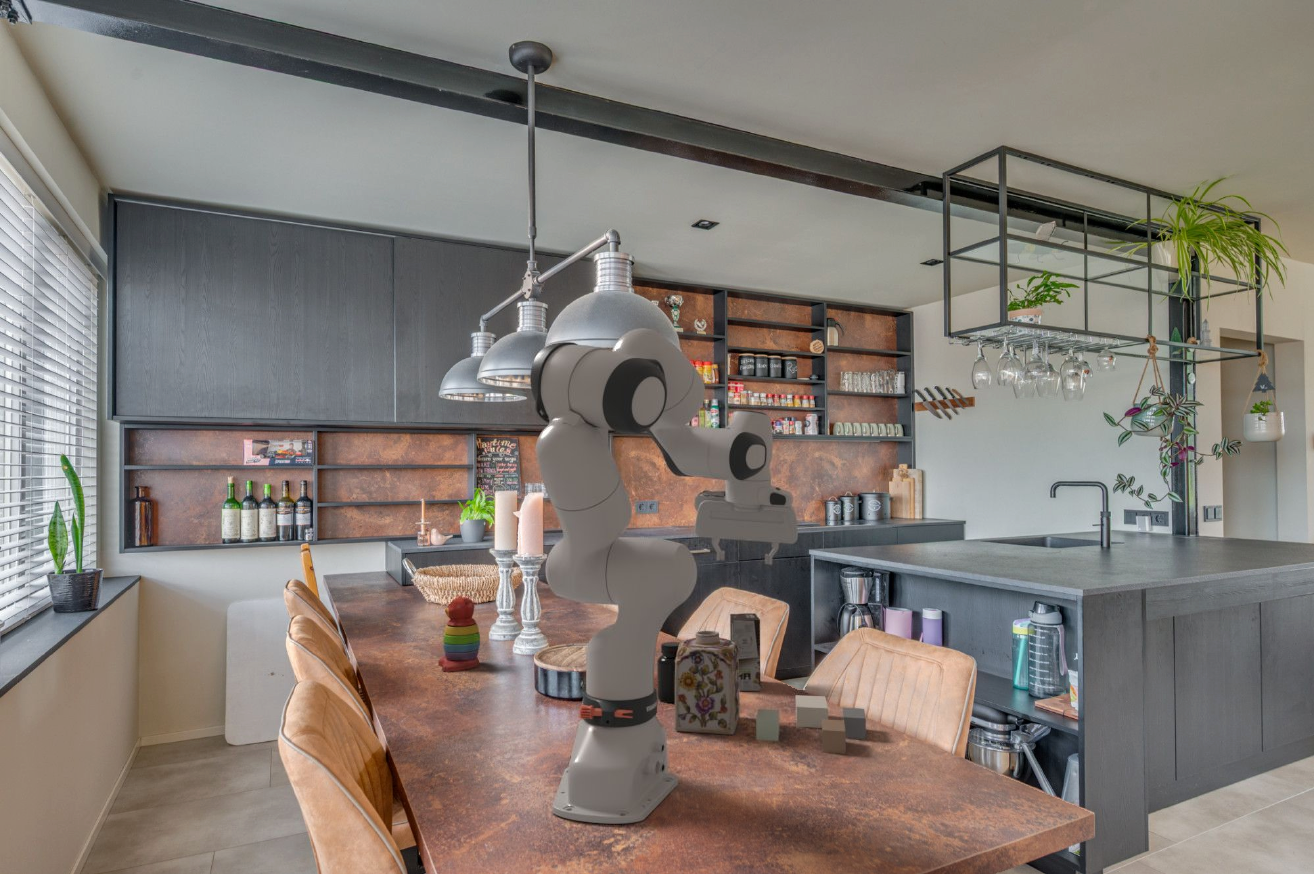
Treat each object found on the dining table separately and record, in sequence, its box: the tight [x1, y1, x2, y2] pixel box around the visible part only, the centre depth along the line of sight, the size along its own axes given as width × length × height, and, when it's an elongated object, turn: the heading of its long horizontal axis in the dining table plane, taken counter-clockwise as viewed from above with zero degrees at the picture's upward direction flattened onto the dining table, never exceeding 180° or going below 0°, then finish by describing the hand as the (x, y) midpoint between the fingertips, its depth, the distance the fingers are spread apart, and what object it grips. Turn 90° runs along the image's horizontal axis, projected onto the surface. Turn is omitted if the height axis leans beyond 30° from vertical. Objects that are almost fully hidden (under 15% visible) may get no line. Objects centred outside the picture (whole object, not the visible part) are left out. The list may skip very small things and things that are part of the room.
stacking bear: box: [437, 595, 481, 673], centre depth 194 cm, size 11×10×18 cm
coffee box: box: [729, 612, 761, 692], centre depth 174 cm, size 9×6×16 cm
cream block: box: [795, 694, 829, 729], centre depth 149 cm, size 8×6×4 cm
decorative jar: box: [674, 630, 741, 736], centre depth 148 cm, size 12×12×18 cm
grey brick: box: [842, 706, 867, 740], centre depth 141 cm, size 6×4×4 cm, turn 167°
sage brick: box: [755, 708, 780, 742], centre depth 141 cm, size 6×4×4 cm, turn 168°
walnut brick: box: [821, 719, 847, 755], centre depth 134 cm, size 6×4×4 cm, turn 168°
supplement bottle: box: [656, 641, 681, 704], centre depth 164 cm, size 7×7×12 cm
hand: (744, 562), depth 147 cm, fingers open, 8 cm apart
